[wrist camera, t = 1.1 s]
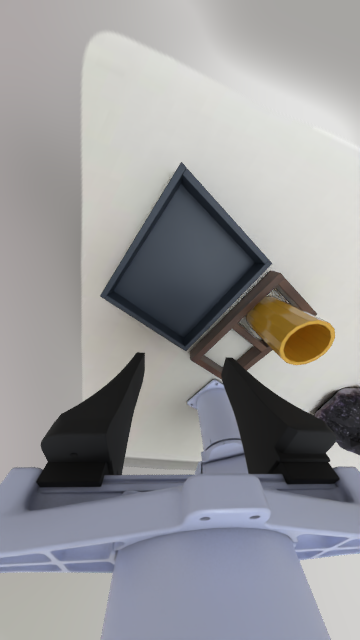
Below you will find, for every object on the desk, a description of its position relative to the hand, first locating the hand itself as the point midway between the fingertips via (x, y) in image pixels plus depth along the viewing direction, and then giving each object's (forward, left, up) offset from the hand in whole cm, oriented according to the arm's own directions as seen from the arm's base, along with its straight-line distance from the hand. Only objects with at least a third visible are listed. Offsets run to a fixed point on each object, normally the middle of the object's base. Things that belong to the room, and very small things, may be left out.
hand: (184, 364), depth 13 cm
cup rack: (-10, -4, -10) cm, 15 cm away
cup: (-10, -8, -10) cm, 16 cm away
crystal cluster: (-42, -5, -10) cm, 43 cm away
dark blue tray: (+3, -5, -10) cm, 12 cm away
